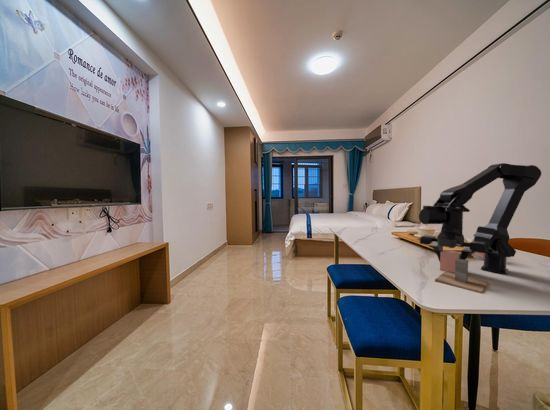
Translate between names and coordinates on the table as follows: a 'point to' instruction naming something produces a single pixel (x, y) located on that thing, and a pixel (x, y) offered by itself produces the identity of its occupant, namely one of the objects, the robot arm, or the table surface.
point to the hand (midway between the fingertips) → (450, 266)
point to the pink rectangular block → (448, 260)
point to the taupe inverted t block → (462, 278)
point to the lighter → (478, 255)
